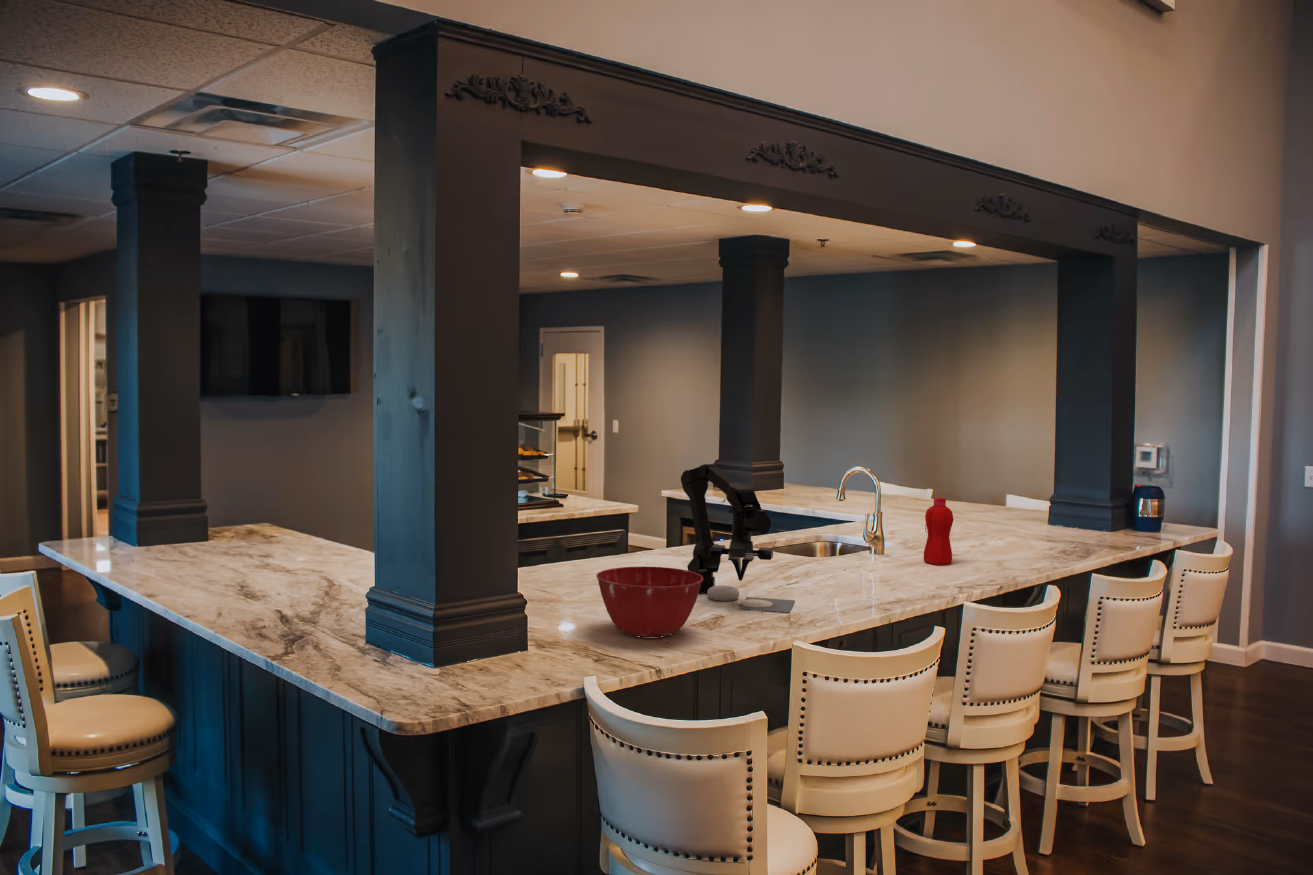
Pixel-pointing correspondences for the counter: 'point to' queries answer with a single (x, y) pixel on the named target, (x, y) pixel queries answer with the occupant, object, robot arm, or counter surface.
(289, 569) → the counter surface
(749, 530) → the robot arm
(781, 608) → the kitchen scale
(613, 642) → the counter surface
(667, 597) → the mixing bowl
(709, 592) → the donut
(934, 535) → the water bottle
